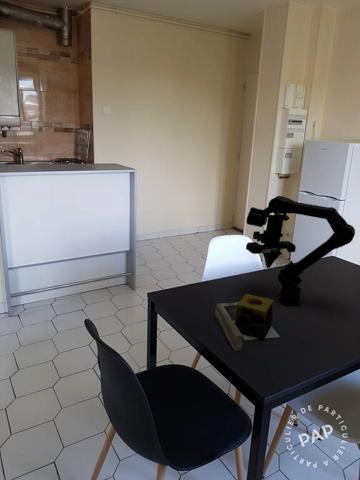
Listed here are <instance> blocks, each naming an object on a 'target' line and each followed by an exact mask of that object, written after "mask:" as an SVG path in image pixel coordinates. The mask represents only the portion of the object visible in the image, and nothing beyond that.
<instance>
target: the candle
mask: <svg viewBox="0 0 360 480" xmlns="http://www.w3.org/2000/svg"><path fill="white" fill-rule="evenodd" d="M236 303H237V305H236V309H237V312H236V318H235V320H234V321H235V325H236V326H237V328H238V330H239V331H240V333H241V334H244V335H247V336H251V337H256V338H258V339H257V340H261V341H264V340H265V339H266V338H265V337H266V335H267V333H268V332H269V329H270V328H271V326H272V323H273V312H274V303H275V300H274V299H270V298H266V297H262V296H257V295H254V294H249V293H245V294H244V296H242V298H241V299H240V300H239V302H236ZM272 327H273V326H272ZM264 338H265V339H264Z"/></svg>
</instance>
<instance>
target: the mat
mask: <svg viewBox="0 0 360 480" xmlns="http://www.w3.org/2000/svg"><path fill="white" fill-rule="evenodd" d="M233 322H234V323H235V320H233ZM274 338H281V336H280V335H279V334H278V332H277V331H276V330H275V329H274V327H273V326H271V328H270V329H269V332H268V333H267V335H266V337H265V338H264V340H265V339H274ZM242 339H243V340H244V341H249V340H250V341H253V340H259V339H258V338H256V337H251V336H247V335H244V334H242Z"/></svg>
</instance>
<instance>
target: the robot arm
mask: <svg viewBox="0 0 360 480" xmlns="http://www.w3.org/2000/svg"><path fill="white" fill-rule="evenodd" d="M267 205H268V206H267V207H266V208H264V209H263V208H262V209H261V208H256V207H250V209H249V212H248V215H247V217H246V224H247V225H249V226H254V227H259V228H263V227H264V226H266V228H265V229H264V230H263V232H262V233H260V231H253V232H252V239H253V240H256V241H253V242H252V241H249V242H247V243H246V246H245V249H246V250H247V251H248V252H249V253H250V254H253V255H260V254H261V253H262V255H263V258H264V263H265V268H267V269H270V268H271V266H272V265H273V264H274V263H275V261H276V260H277V259H278V258H279V257H280V256H281V255H283V253H282V250H286V252H288V253H296V249H297V247H296V244H294V243H292V242H291V241H289V240H281V238H283V236H284V234H283V233H282V231H283V224H284V222H287V221H289V220H290V217H289V216H288V215H287V214H295V215H301V216H306V217H312V218H317V219H322V220H326V221H327V223H328V225H329V226H330V228H331V230H332V232H333V233H332V234H331V235H330V237H329V238H328V239H327V240H325V241H324V242H323V243H321V244H320V245H318V246H317V247H315V248H314V249H313V250H312V251H310V252H309V253H308V254H307V255H305V256H304V257H302V258H301V259H300V260H298V261H296V262H294V261H292V260H290V261H289V262H288V263H287V264H284V265H283V266H282V267H281V268H280V270H279V273H278V275H277V279H278V282H279V283H280V285H281V290H280V292H279V297H278V300H279V301H280V302H281V303H282V304H283V305H284V306H285V307H290V306H291V307H292V306H301V305H302V303H301V302H300V297H301V291H302V290H301V289H302V288H301V287H300V285H301V284H302V283H303V280H302V279H301V278H300V275H301V274H302V273H303V272H304V271H305V270H307V269H308V268H310V267H311V266H312V265H314V264H315V263H316V262H318V261H320V260H321V259H323V258H324V257H325V256H327V255H328V254H329V253H331V252H332V251H333V250H336V249H340V248H342V247H344V246H346V245H348V244H350V243H351V242H352V241H353V240H354V237H355V235H356V230H355V228H354V226H353V225H351V224H348V222H347V221H346V220H345V218H344V217H343V216H342V215H341V214H340V213H339V212H338V210H337V209H336V207H333V206H332V207H331V206H330V207H327V206H322V205H315V204H311V203H304V202H298V201H296V200H294V199H290V198H288V197H285V196H283V195H277V196H275V197H274V198H271V199H270V200H269V201H268V204H267ZM259 242H260V243H261V244H260V243H259Z"/></svg>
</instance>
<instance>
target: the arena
mask: <svg viewBox="0 0 360 480" xmlns="http://www.w3.org/2000/svg"><path fill="white" fill-rule="evenodd" d="M237 303H238V302H227V303H224V302H223V303H215V313H214V316H215V319H216V321H217V322H218V324H219V326H220V328H221V329H222V331H223V333H224V334H225V336H226V338H227V340H228V342H229V343H230V345H231V346H232V348H233V351H242V347H243V346H242V344H243V337H242V334H241V333H240V331H239V330H238V328H237V326H236V325H235V323H234V322H233V321H234V320H233V319H236V312H237V309H236V305H237Z"/></svg>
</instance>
